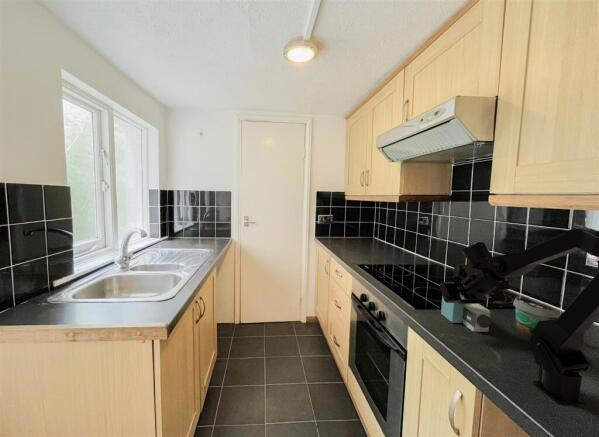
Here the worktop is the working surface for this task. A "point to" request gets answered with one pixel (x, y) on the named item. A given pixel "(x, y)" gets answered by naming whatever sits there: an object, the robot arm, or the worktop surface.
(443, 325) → the worktop surface
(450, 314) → the teal block
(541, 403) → the worktop surface
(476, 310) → the camera housing
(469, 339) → the worktop surface
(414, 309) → the worktop surface
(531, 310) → the food container
